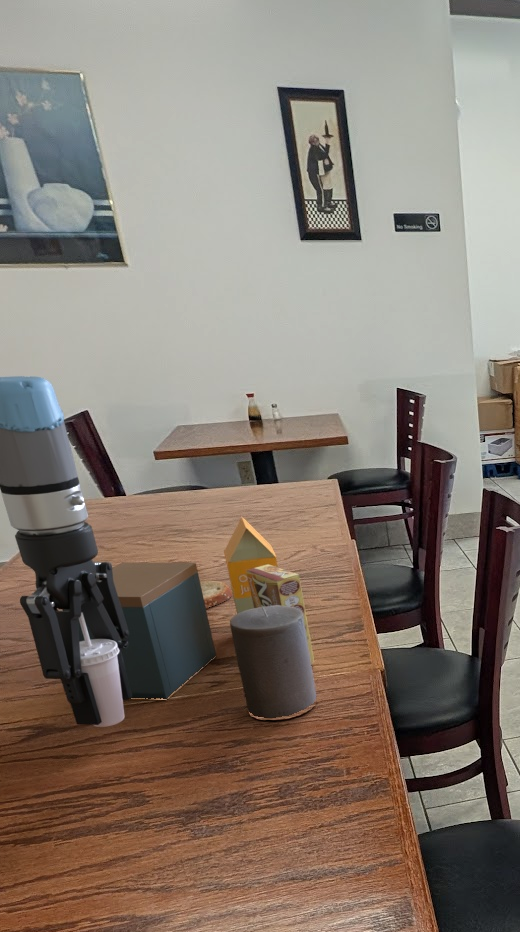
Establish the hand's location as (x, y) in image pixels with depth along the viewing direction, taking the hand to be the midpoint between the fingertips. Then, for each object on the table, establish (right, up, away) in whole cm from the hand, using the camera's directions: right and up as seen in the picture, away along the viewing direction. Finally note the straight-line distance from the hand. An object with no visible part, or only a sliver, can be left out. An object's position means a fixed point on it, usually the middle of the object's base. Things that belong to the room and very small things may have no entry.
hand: (105, 709), depth 101 cm
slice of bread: (-18, +19, +56) cm, 62 cm away
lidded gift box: (-7, +5, +26) cm, 27 cm away
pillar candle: (+17, 0, +16) cm, 23 cm away
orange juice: (+5, +12, +41) cm, 44 cm away
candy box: (+13, +7, +30) cm, 33 cm away
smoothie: (0, -1, +1) cm, 2 cm away
